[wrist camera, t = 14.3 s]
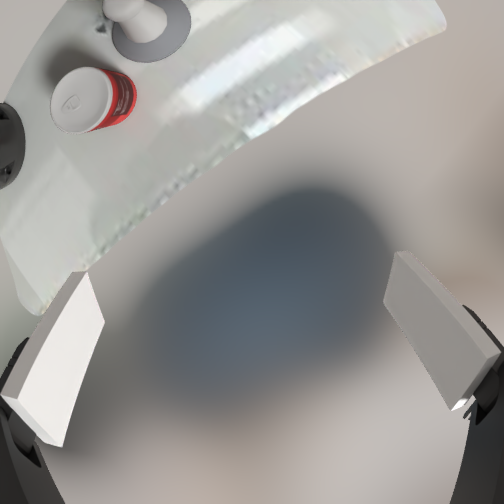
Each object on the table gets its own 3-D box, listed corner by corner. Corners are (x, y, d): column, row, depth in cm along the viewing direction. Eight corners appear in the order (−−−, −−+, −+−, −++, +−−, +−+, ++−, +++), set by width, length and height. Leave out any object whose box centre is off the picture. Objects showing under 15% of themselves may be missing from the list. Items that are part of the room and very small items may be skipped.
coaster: (114, 69, 32) (112, 68, 31) (115, 3, 27) (113, 2, 26) (191, 56, 33) (191, 56, 32) (191, -11, 27) (190, -12, 27)
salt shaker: (165, 4, 28) (143, -32, 16) (174, 37, 30) (153, 9, 19) (125, 19, 28) (88, -9, 17) (133, 52, 31) (97, 33, 19)
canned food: (78, 101, 33) (38, 105, 24) (117, 62, 32) (85, 51, 22) (108, 137, 36) (74, 149, 27) (149, 98, 35) (124, 97, 25)
